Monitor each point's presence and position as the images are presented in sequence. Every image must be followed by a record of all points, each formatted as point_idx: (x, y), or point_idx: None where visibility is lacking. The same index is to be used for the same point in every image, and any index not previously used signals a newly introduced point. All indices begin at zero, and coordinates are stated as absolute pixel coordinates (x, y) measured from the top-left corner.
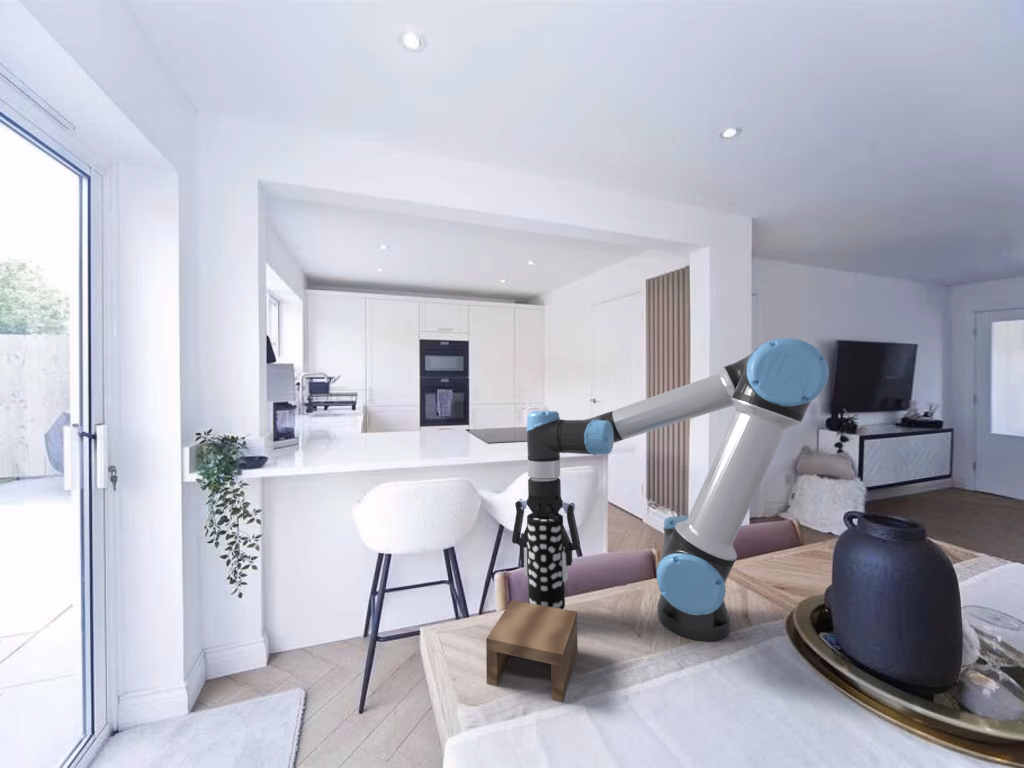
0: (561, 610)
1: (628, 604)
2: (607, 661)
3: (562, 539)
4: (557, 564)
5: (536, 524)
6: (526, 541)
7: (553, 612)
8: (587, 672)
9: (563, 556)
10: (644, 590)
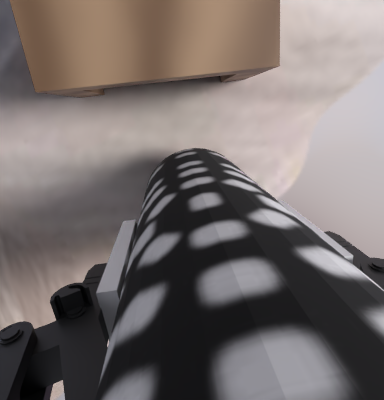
0: (88, 75)
1: (49, 316)
2: (4, 91)
3: (94, 363)
4: (139, 229)
5: None
6: None
7: (108, 48)
8: None
9: (112, 276)
10: None
